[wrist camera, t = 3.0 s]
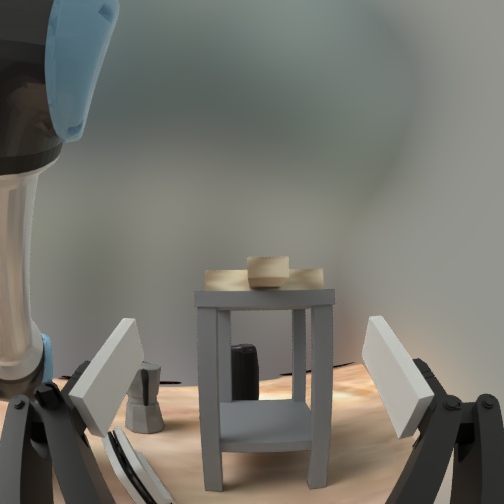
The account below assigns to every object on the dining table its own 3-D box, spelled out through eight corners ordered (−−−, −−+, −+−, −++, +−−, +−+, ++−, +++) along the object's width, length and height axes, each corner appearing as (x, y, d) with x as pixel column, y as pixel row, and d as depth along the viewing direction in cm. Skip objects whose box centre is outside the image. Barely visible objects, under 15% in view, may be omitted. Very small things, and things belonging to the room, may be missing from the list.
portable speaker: (217, 419, 63) (215, 345, 67) (236, 410, 71) (234, 342, 75) (248, 425, 59) (247, 347, 64) (264, 414, 67) (264, 343, 72)
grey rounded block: (180, 508, 25) (146, 457, 25) (150, 521, 22) (111, 470, 22) (145, 458, 38) (121, 413, 39) (123, 467, 36) (96, 422, 36)
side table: (202, 491, 30) (194, 290, 37) (220, 434, 54) (218, 300, 60) (328, 487, 30) (334, 288, 37) (303, 432, 53) (304, 299, 60)
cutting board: (186, 282, 28) (186, 252, 29) (221, 300, 58) (221, 285, 59) (348, 280, 28) (346, 250, 28) (301, 299, 58) (300, 284, 59)
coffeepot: (123, 417, 57) (118, 348, 61) (159, 417, 61) (155, 350, 65) (128, 442, 44) (121, 358, 48) (173, 440, 48) (168, 359, 52)
